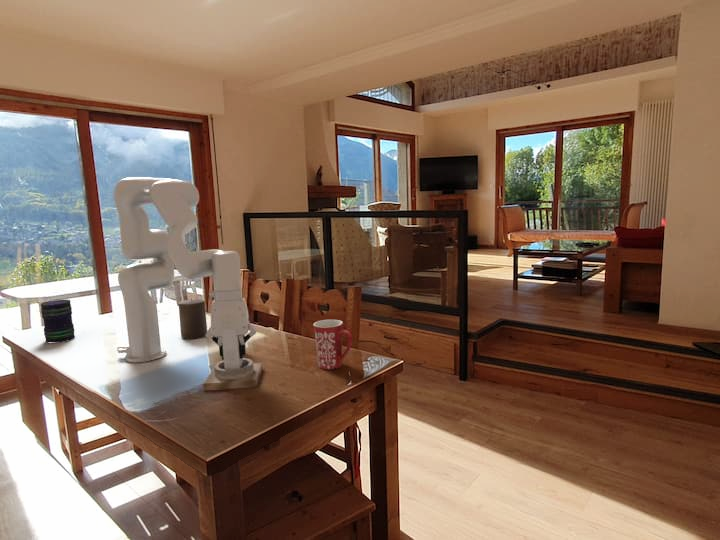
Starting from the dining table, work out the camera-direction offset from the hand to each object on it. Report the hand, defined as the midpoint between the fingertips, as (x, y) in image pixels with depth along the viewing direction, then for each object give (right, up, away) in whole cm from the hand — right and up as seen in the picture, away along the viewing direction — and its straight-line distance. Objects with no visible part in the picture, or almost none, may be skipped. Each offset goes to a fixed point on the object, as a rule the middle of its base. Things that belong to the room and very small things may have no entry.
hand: (233, 357), depth 130 cm
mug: (+29, -5, +9) cm, 30 cm away
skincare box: (0, -3, 0) cm, 3 cm away
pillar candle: (-28, -1, +47) cm, 55 cm away
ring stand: (0, -7, +1) cm, 7 cm away
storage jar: (-81, -2, +48) cm, 94 cm away
